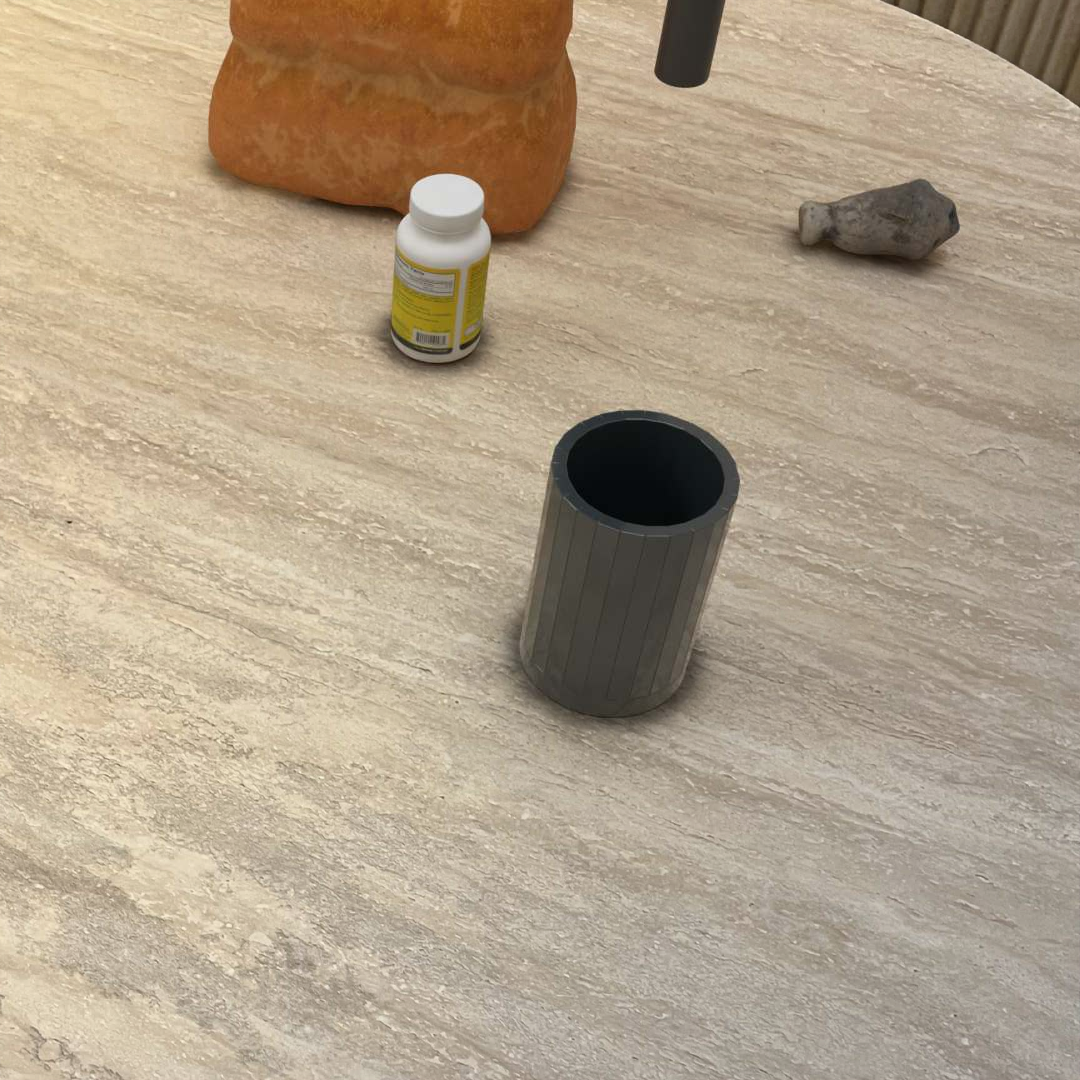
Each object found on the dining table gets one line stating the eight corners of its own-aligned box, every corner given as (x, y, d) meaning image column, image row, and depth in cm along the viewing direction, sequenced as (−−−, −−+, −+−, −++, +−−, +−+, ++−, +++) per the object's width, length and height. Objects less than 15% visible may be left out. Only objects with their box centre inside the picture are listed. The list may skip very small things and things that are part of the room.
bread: (531, 257, 121) (565, 24, 108) (192, 182, 127) (183, -50, 113) (585, 142, 130) (622, -87, 116) (266, 76, 136) (266, -150, 122)
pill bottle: (455, 301, 118) (470, 157, 109) (495, 353, 115) (514, 209, 106) (374, 322, 117) (383, 178, 108) (412, 375, 113) (425, 231, 104)
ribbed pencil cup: (672, 594, 101) (723, 409, 90) (697, 717, 95) (754, 536, 84) (512, 594, 101) (542, 409, 90) (527, 717, 95) (562, 536, 84)
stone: (781, 259, 123) (852, 242, 115) (788, 181, 122) (861, 158, 115) (893, 274, 126) (969, 258, 119) (901, 198, 125) (978, 178, 118)
